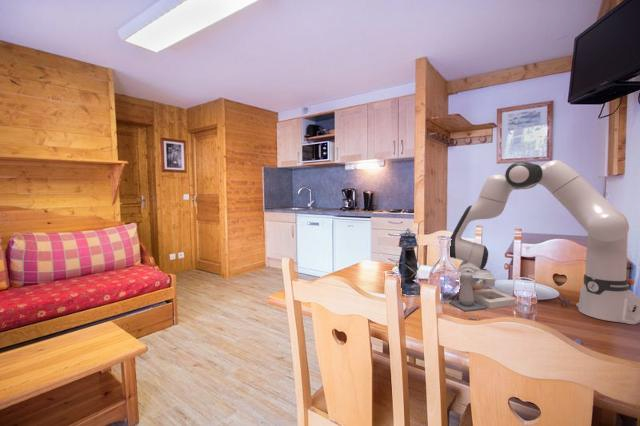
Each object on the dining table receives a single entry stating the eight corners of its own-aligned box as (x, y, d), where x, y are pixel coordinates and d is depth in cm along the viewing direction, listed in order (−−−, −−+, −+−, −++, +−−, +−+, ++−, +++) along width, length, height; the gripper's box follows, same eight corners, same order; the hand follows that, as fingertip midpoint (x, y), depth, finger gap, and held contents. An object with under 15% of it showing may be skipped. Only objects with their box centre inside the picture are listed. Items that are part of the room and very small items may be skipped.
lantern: (416, 299, 136) (415, 231, 134) (389, 294, 143) (389, 229, 141) (426, 289, 149) (426, 227, 146) (401, 285, 156) (401, 226, 154)
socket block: (491, 293, 140) (491, 288, 140) (518, 304, 127) (518, 298, 127) (465, 297, 137) (465, 291, 137) (489, 308, 123) (489, 302, 123)
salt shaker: (475, 307, 123) (476, 275, 122) (460, 306, 125) (460, 274, 124) (472, 302, 129) (472, 271, 128) (457, 301, 130) (457, 271, 130)
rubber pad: (468, 300, 133) (468, 299, 133) (486, 308, 123) (486, 307, 123) (448, 303, 130) (448, 301, 130) (464, 311, 121) (465, 310, 121)
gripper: (443, 266, 142) (439, 273, 130) (494, 270, 133) (495, 278, 120) (443, 279, 143) (439, 288, 130) (493, 284, 133) (495, 294, 121)
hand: (467, 283), depth 125 cm, fingers open, 6 cm apart
